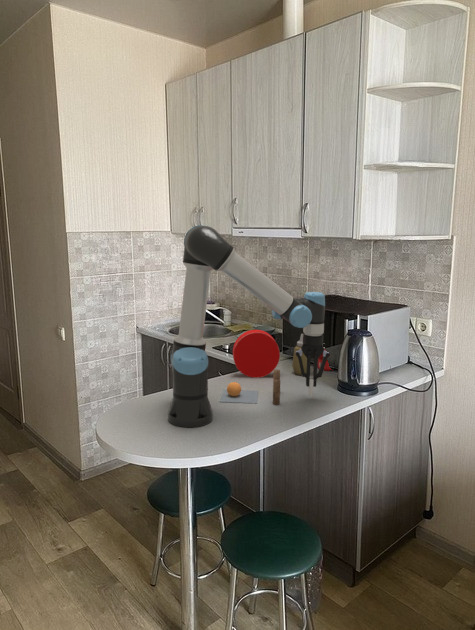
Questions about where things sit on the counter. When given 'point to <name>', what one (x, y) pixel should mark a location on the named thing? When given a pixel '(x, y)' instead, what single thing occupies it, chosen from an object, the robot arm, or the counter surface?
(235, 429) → the counter surface
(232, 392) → the ball
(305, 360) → the squeeze bottle
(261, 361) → the red thick disc
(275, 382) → the near post
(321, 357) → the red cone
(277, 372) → the far post
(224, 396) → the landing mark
